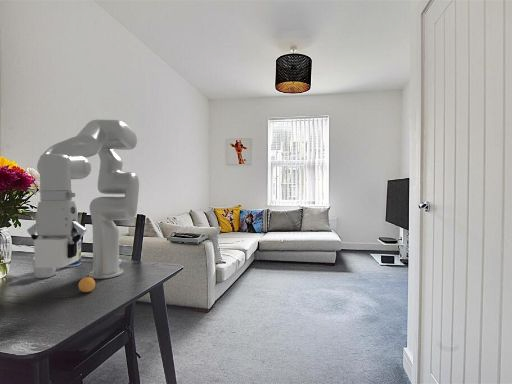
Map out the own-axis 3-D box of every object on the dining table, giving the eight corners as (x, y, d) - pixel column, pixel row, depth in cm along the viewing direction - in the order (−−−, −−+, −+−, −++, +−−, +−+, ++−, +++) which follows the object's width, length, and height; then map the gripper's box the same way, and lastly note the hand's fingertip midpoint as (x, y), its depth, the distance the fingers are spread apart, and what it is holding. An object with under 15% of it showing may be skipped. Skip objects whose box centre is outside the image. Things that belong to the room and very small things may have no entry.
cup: (60, 271, 129) (60, 252, 129) (67, 274, 124) (67, 255, 124) (29, 277, 121) (29, 257, 120) (36, 281, 116) (35, 260, 115)
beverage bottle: (67, 262, 143) (67, 220, 142) (85, 262, 142) (85, 220, 142) (55, 267, 134) (54, 222, 134) (74, 267, 134) (73, 222, 133)
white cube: (53, 260, 93) (52, 234, 93) (78, 260, 93) (77, 234, 93) (34, 267, 85) (34, 239, 85) (62, 267, 85) (61, 239, 85)
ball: (79, 294, 104) (85, 281, 108) (94, 294, 104) (99, 281, 108) (73, 287, 101) (79, 274, 104) (88, 288, 101) (94, 274, 104)
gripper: (93, 196, 92) (94, 253, 93) (35, 195, 92) (37, 253, 93) (78, 197, 85) (80, 260, 85) (15, 197, 85) (17, 260, 85)
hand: (57, 256), depth 89 cm, fingers closed on white cube, 7 cm apart
